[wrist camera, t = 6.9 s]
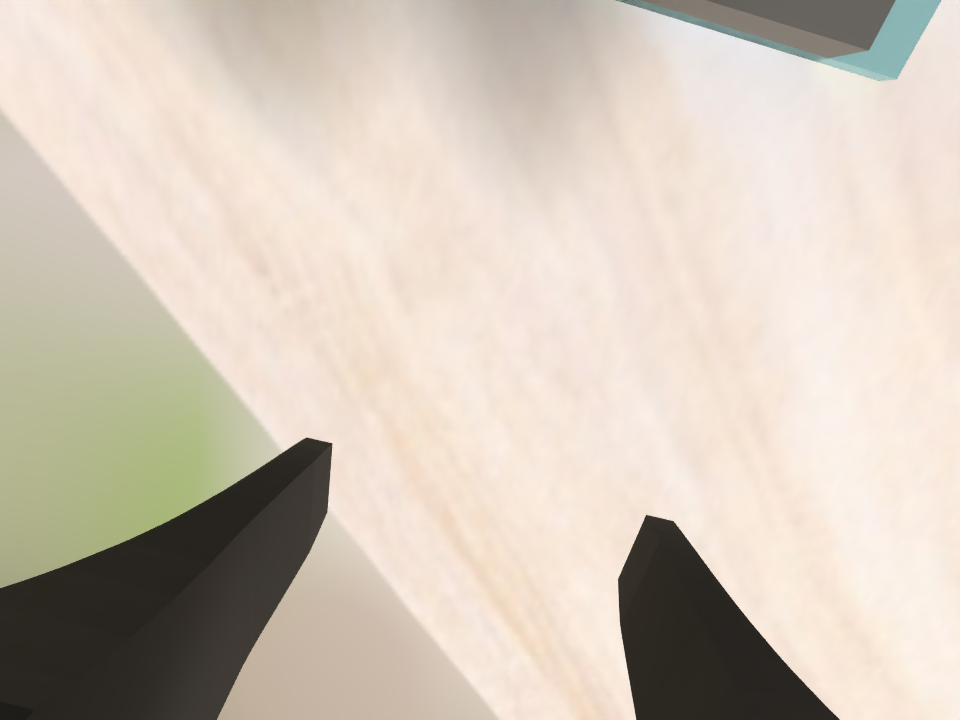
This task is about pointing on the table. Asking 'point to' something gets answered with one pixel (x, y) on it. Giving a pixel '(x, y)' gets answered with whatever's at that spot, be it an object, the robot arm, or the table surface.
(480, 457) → the table surface
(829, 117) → the table surface
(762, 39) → the teal hinge plate
